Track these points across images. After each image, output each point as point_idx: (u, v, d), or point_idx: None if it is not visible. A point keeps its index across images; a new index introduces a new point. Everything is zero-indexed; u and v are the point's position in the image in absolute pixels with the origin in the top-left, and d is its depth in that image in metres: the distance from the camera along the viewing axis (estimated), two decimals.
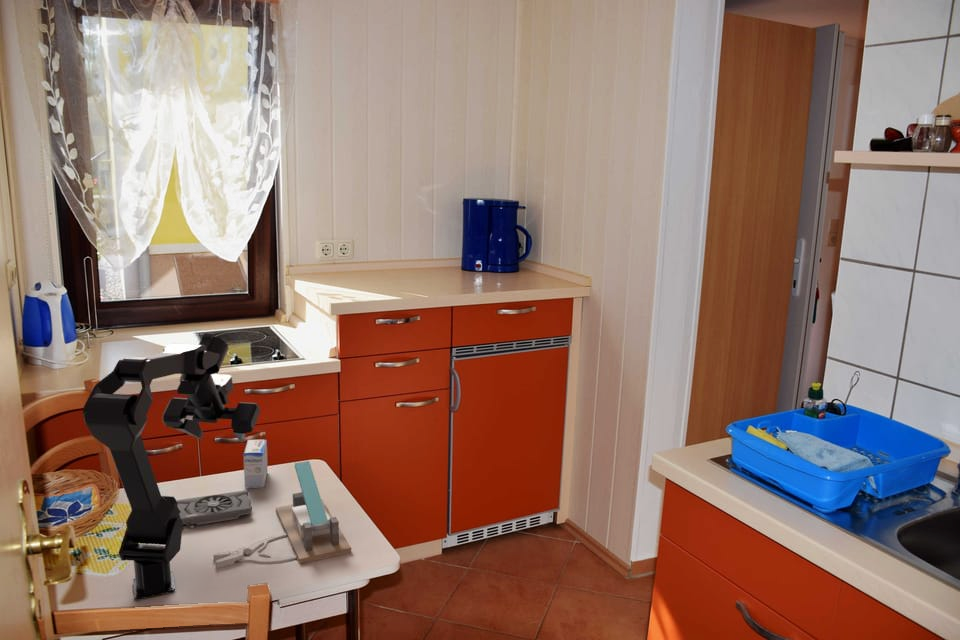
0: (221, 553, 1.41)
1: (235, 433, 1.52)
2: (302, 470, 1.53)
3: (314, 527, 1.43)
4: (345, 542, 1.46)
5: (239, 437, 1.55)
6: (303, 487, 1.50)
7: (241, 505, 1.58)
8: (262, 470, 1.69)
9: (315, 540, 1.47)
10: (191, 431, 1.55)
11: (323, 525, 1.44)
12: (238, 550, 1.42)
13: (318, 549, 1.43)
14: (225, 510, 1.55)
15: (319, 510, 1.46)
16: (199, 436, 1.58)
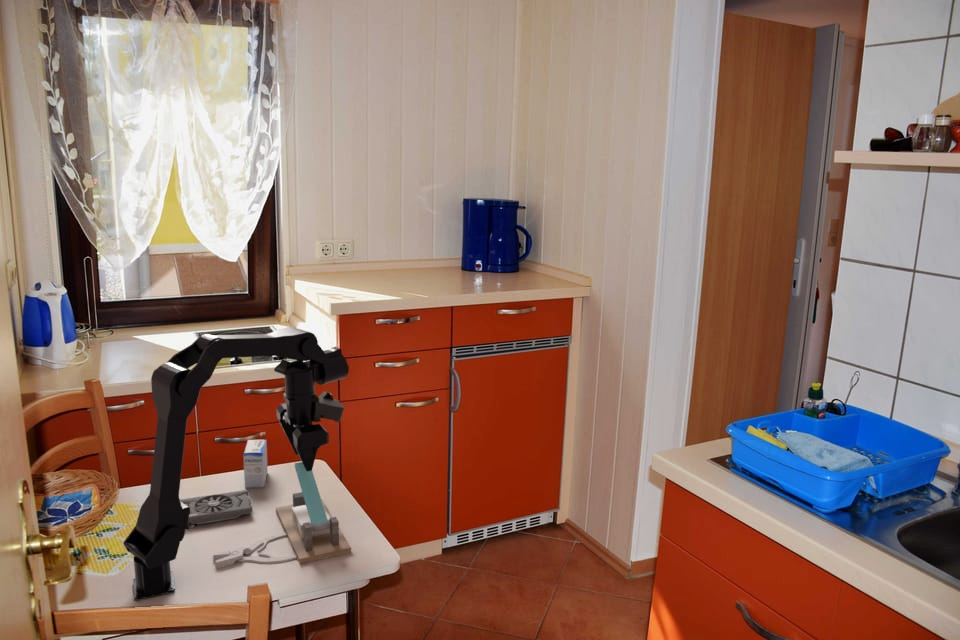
0: (221, 553, 1.41)
1: (294, 445, 1.45)
2: (302, 470, 1.53)
3: (314, 527, 1.43)
4: (345, 542, 1.46)
5: (300, 457, 1.47)
6: (303, 487, 1.50)
7: (241, 505, 1.58)
8: (262, 470, 1.69)
9: (315, 540, 1.47)
10: (288, 435, 1.55)
11: (323, 525, 1.44)
12: (238, 550, 1.42)
13: (318, 549, 1.43)
14: (225, 510, 1.55)
15: (319, 510, 1.46)
16: (295, 449, 1.56)
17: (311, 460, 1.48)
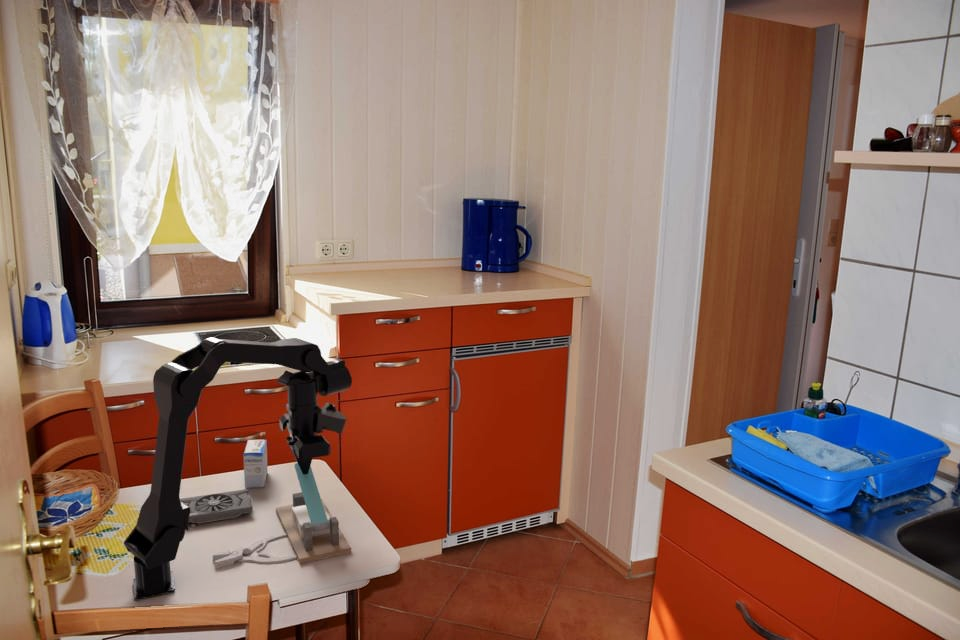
0: (220, 553, 1.41)
1: (291, 449, 1.49)
2: None
3: (314, 527, 1.43)
4: (345, 542, 1.46)
5: (296, 460, 1.50)
6: (303, 487, 1.50)
7: (242, 504, 1.58)
8: (262, 470, 1.69)
9: (315, 540, 1.47)
10: None
11: (323, 525, 1.44)
12: (237, 550, 1.42)
13: (318, 549, 1.43)
14: (226, 509, 1.55)
15: (319, 510, 1.46)
16: None
17: (307, 463, 1.51)
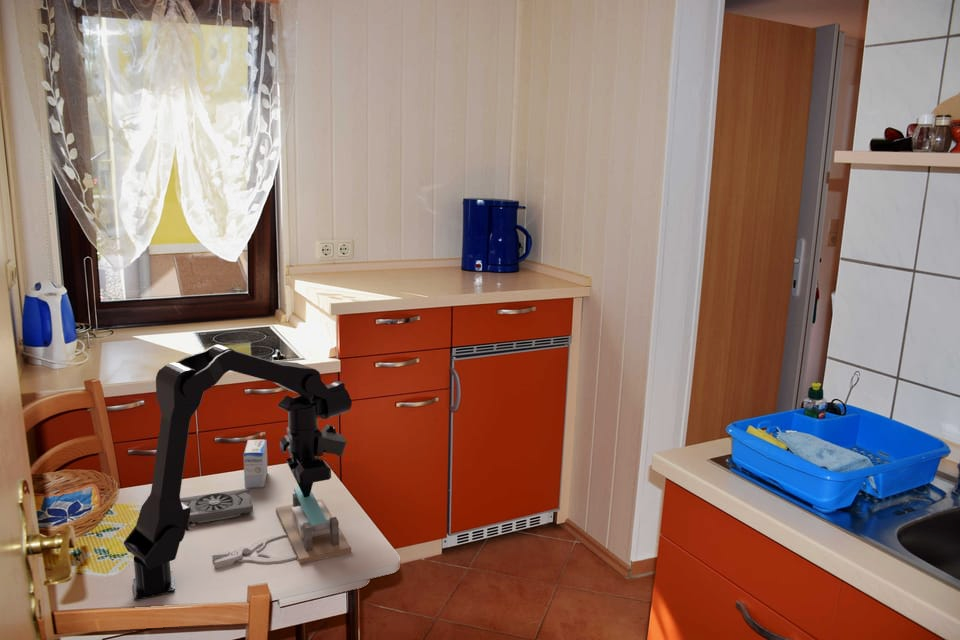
0: (220, 553, 1.41)
1: (292, 472, 1.50)
2: None
3: (314, 526, 1.43)
4: (345, 542, 1.46)
5: (298, 484, 1.52)
6: (302, 502, 1.52)
7: (242, 503, 1.59)
8: (262, 470, 1.69)
9: (315, 540, 1.47)
10: (295, 475, 1.53)
11: (323, 524, 1.44)
12: (237, 550, 1.42)
13: (318, 549, 1.43)
14: (226, 508, 1.56)
15: (318, 515, 1.47)
16: None
17: (309, 486, 1.53)
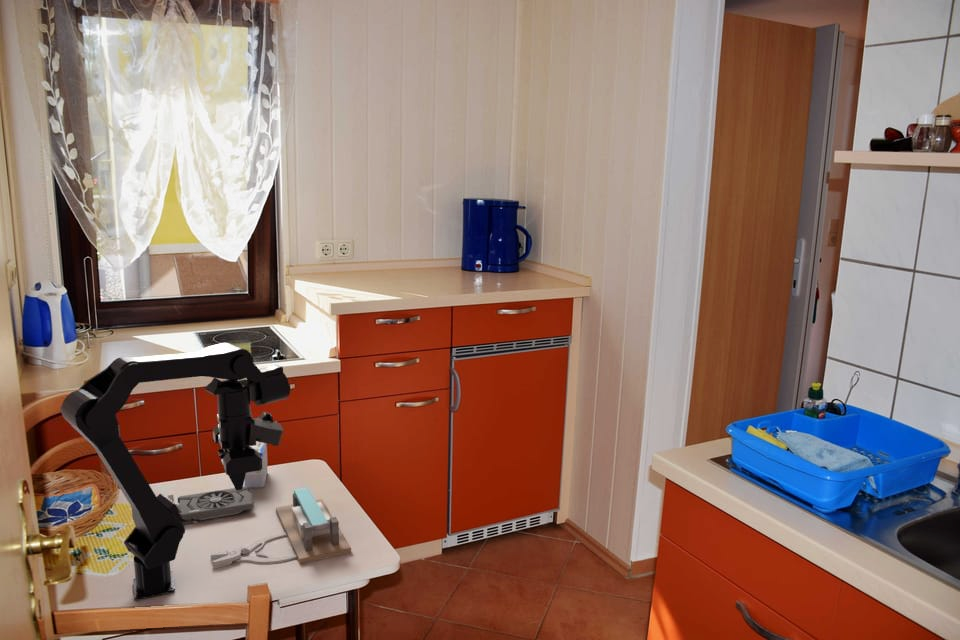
0: (218, 553, 1.41)
1: None
2: (301, 493, 1.56)
3: (314, 526, 1.43)
4: (345, 542, 1.46)
5: (228, 475, 1.39)
6: (302, 503, 1.52)
7: (243, 500, 1.60)
8: (262, 470, 1.69)
9: (315, 540, 1.47)
10: None
11: (323, 524, 1.44)
12: (235, 550, 1.42)
13: (318, 549, 1.43)
14: (227, 505, 1.57)
15: (318, 515, 1.47)
16: None
17: (241, 479, 1.40)
